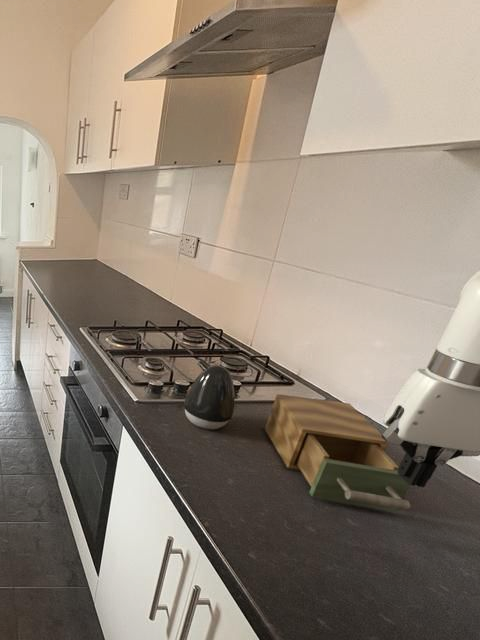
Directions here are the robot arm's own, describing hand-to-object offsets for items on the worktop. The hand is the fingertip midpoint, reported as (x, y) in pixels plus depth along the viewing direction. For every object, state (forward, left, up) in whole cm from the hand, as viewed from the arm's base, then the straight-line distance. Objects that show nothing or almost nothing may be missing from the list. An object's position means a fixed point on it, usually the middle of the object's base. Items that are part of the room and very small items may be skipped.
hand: (410, 480), depth 62 cm
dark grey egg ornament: (+20, -31, -14) cm, 39 cm away
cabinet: (0, -25, -13) cm, 28 cm away
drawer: (0, -13, -12) cm, 18 cm away
